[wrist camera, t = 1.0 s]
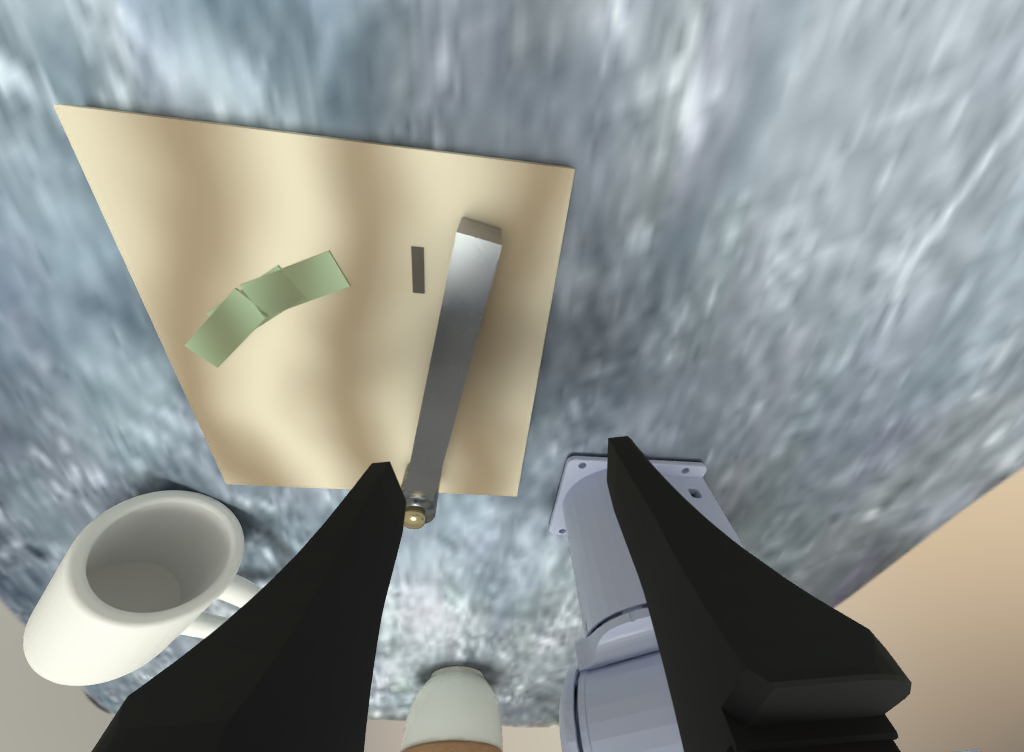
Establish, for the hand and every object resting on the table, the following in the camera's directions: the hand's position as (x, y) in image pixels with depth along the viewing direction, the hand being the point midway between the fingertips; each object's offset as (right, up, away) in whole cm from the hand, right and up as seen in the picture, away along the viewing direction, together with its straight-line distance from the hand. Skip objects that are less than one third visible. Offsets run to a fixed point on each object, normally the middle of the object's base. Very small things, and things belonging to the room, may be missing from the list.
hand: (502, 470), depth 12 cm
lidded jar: (-6, -32, +32) cm, 45 cm away
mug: (-22, -9, +16) cm, 29 cm away
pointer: (-3, +3, +7) cm, 8 cm away
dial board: (-7, +4, +7) cm, 11 cm away
